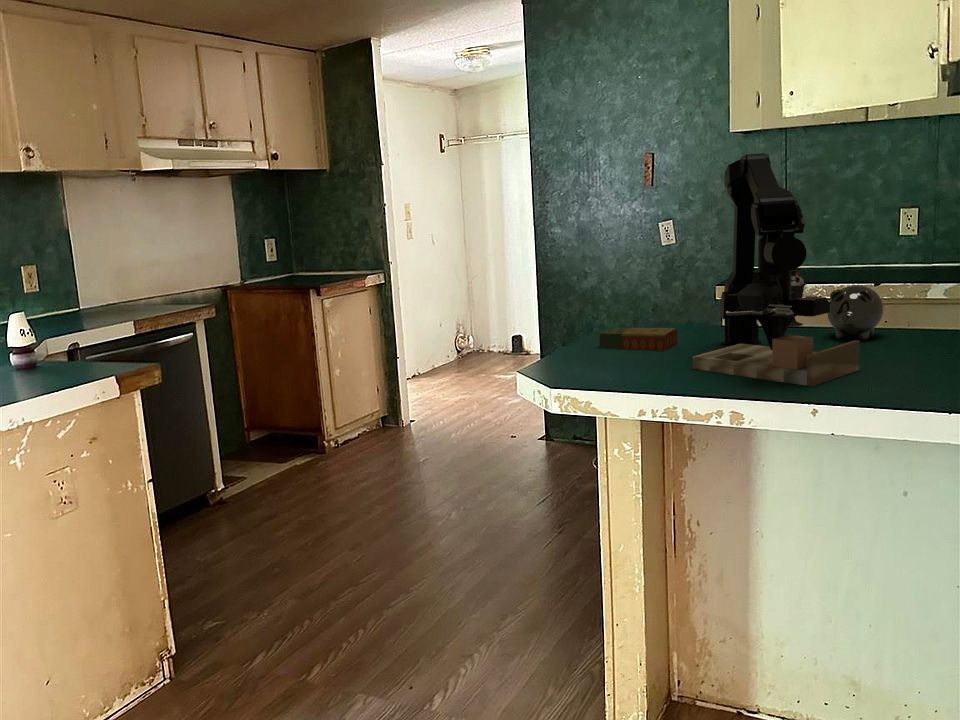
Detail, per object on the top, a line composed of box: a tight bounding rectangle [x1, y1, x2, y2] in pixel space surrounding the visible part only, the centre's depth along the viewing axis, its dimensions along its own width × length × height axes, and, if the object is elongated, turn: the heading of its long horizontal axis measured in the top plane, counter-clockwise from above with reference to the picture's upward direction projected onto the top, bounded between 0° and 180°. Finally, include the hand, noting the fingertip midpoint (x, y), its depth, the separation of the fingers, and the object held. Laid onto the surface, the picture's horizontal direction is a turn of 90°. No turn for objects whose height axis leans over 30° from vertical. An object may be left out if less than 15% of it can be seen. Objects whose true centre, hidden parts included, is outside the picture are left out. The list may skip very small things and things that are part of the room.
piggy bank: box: [826, 284, 884, 341], centre depth 182 cm, size 11×15×12 cm
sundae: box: [788, 268, 808, 328], centre depth 202 cm, size 7×7×15 cm
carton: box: [598, 326, 679, 352], centre depth 190 cm, size 8×16×4 cm, turn 58°
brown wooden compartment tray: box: [692, 339, 861, 387], centre depth 158 cm, size 26×16×6 cm, turn 38°
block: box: [772, 334, 814, 370], centre depth 149 cm, size 5×5×5 cm
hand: (774, 350), depth 153 cm, fingers closed
